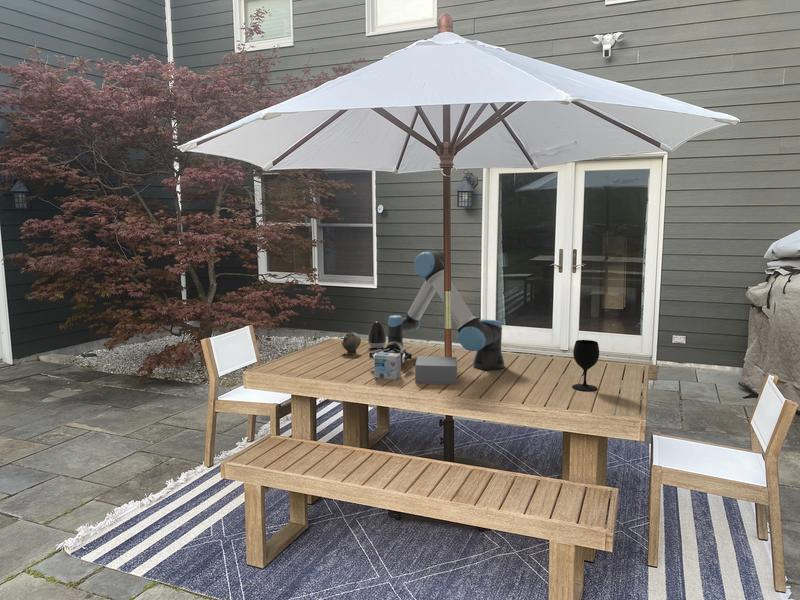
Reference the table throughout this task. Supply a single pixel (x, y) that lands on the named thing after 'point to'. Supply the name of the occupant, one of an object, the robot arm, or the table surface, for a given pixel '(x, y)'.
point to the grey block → (436, 370)
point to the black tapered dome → (377, 335)
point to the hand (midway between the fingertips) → (388, 359)
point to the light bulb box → (387, 365)
